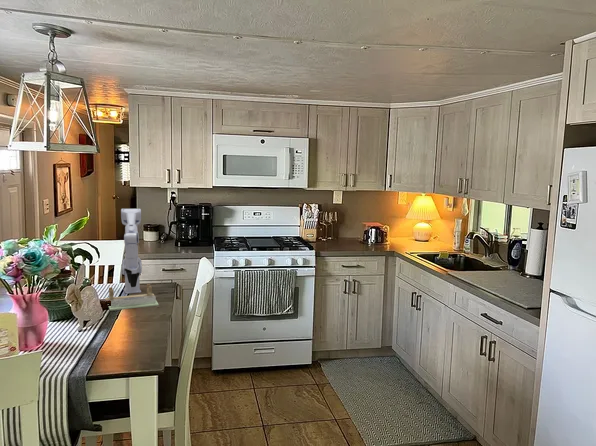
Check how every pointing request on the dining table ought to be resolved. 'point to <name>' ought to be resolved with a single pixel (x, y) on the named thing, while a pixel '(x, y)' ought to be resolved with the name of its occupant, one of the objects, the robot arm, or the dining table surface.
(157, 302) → the mat
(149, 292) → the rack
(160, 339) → the dining table surface
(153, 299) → the rail
